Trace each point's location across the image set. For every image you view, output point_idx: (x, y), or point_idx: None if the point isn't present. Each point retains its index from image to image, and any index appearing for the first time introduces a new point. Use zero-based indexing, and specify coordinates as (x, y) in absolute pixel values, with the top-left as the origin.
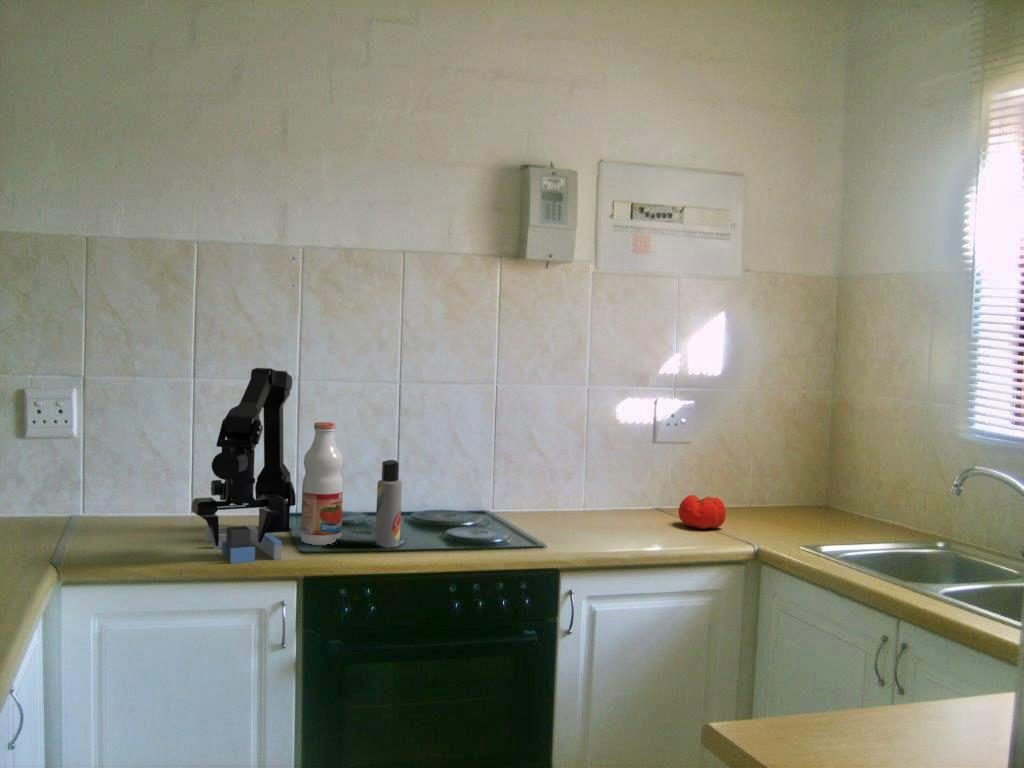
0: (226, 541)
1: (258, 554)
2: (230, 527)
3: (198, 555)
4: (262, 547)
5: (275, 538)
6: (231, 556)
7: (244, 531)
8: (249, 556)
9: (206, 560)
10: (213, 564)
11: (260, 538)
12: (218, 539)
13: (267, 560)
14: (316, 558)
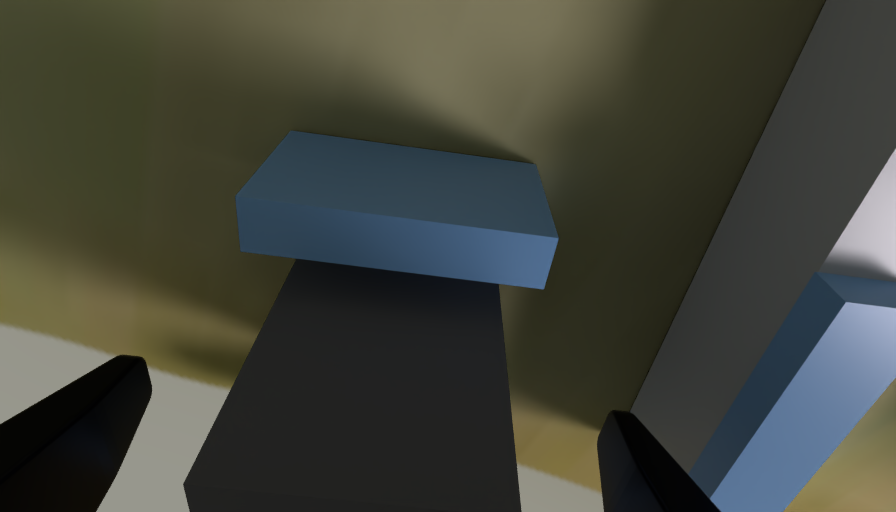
0: (267, 322)
1: (622, 265)
2: (247, 506)
3: (40, 23)
4: (765, 180)
5: (782, 492)
6: None
7: None
8: None
9: (123, 251)
10: (170, 370)
11: (610, 500)
12: (108, 482)
13: (568, 430)
14: (863, 505)
